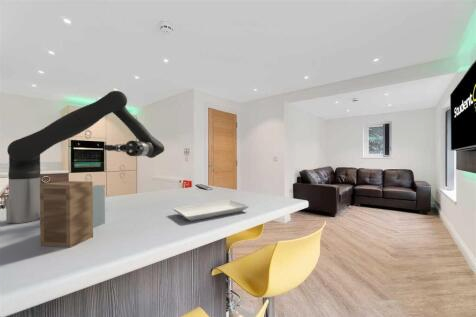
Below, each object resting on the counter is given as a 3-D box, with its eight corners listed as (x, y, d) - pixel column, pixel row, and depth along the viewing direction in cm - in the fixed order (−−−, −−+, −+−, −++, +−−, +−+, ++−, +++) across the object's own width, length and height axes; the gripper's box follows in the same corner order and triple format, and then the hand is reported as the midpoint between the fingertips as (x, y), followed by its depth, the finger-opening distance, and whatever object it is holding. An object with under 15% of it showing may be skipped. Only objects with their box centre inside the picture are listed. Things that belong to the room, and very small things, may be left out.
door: (77, 234, 72) (77, 189, 72) (69, 234, 72) (69, 189, 72) (104, 223, 84) (104, 185, 83) (98, 223, 84) (97, 184, 84)
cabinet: (70, 247, 61) (69, 184, 61) (35, 245, 63) (34, 184, 63) (103, 232, 74) (103, 180, 74) (73, 230, 75) (73, 179, 75)
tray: (250, 212, 100) (250, 205, 100) (186, 225, 82) (186, 216, 82) (230, 205, 114) (230, 199, 114) (171, 215, 96) (171, 207, 96)
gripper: (124, 141, 108) (98, 138, 92) (150, 141, 106) (129, 138, 90) (124, 156, 108) (98, 156, 92) (150, 156, 106) (129, 156, 90)
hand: (114, 147), depth 91 cm, fingers open, 8 cm apart
